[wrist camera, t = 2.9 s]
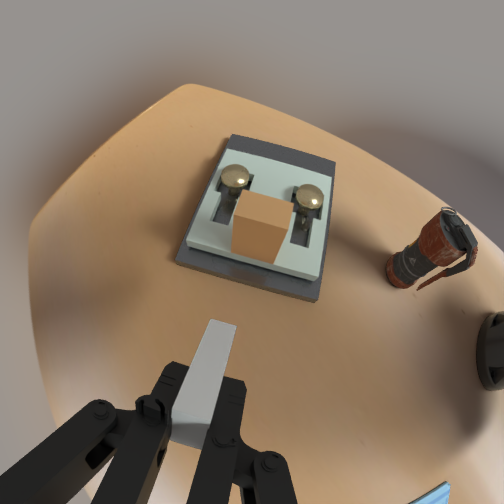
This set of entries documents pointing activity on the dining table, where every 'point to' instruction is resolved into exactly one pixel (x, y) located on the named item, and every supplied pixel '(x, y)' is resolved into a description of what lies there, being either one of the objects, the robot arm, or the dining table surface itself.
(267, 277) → the mounting plate
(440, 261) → the grenade
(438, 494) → the light blue flat panel
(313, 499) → the dining table surface
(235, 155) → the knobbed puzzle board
